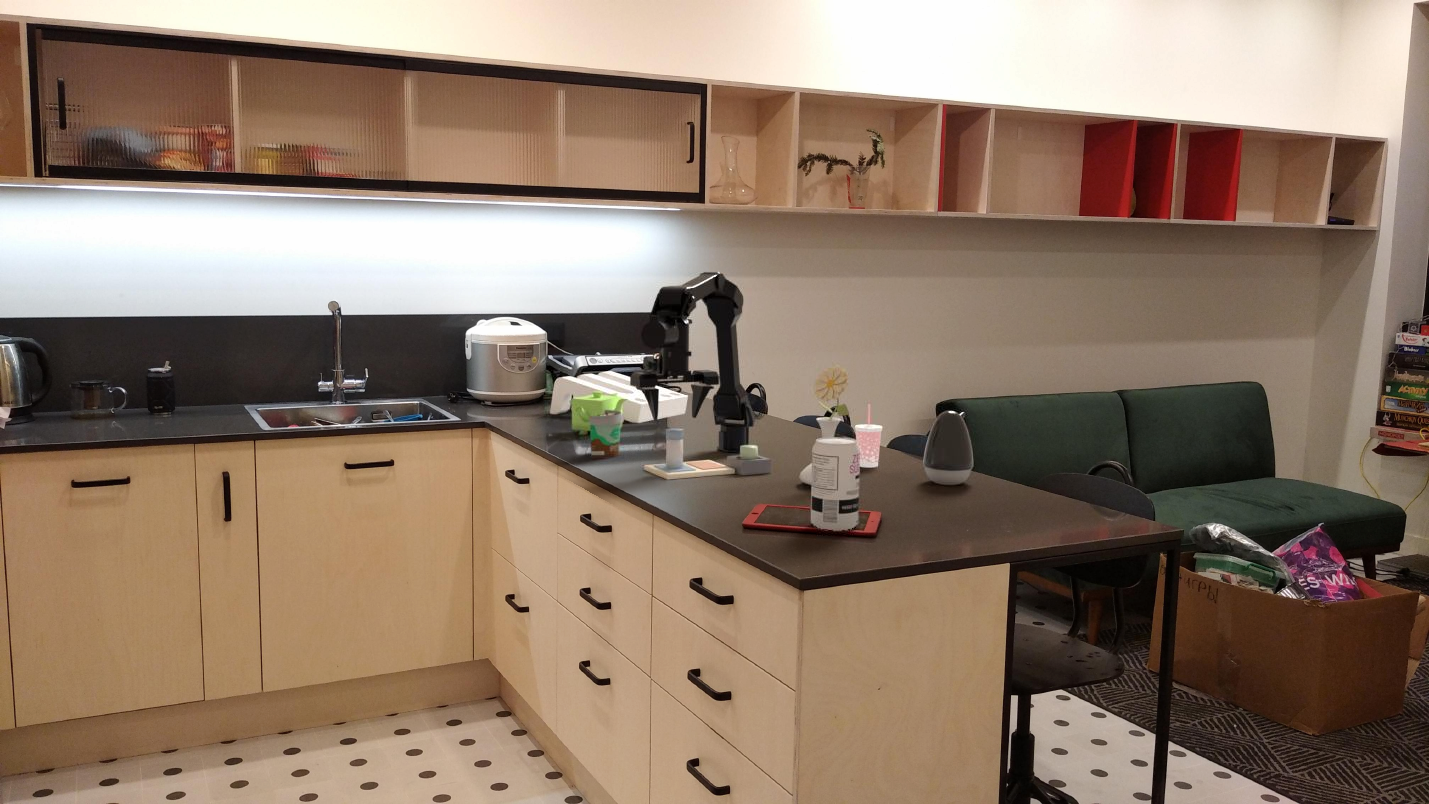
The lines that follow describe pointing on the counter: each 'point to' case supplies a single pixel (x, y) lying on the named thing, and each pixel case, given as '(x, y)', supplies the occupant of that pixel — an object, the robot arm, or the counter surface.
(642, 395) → the bracket
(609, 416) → the food container
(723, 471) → the picture board
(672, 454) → the capped clear jar
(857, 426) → the beverage cup
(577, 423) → the kettle
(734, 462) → the button housing
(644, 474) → the counter surface
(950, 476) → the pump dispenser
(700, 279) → the robot arm
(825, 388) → the flower in vase
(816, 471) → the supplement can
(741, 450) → the button
